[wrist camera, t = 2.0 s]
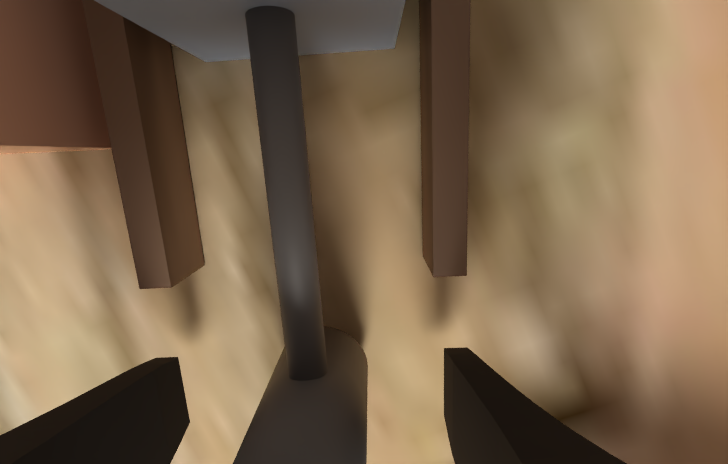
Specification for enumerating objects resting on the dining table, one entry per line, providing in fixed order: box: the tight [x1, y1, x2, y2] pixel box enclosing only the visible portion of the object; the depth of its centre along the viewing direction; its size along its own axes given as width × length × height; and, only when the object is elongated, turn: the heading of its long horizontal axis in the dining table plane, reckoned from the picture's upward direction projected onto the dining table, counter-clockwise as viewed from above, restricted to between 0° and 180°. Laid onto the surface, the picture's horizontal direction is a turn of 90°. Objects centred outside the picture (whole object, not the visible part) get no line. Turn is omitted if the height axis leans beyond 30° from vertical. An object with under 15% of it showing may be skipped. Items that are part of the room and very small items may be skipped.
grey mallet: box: [94, 0, 406, 464], centre depth 7 cm, size 5×17×5 cm, turn 4°
